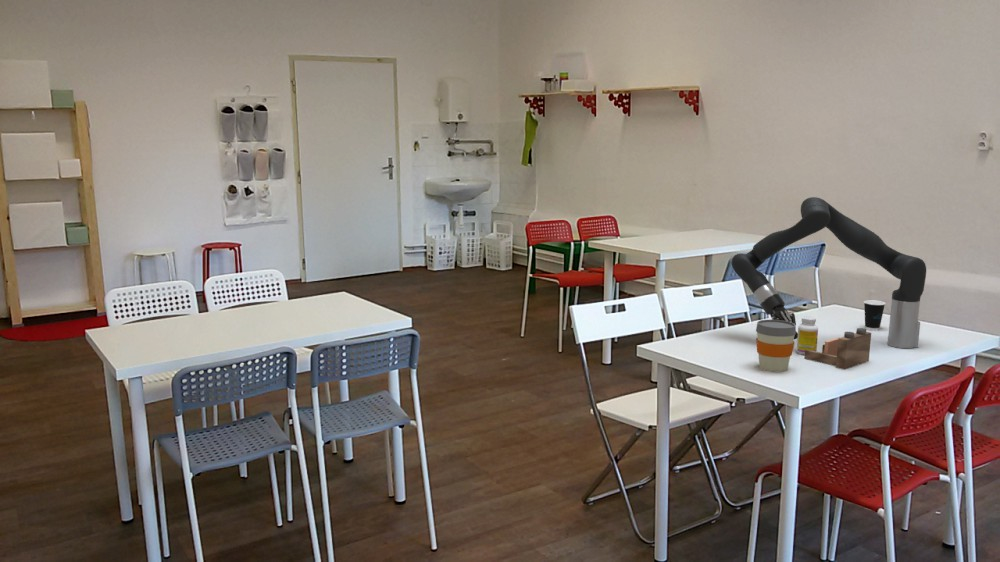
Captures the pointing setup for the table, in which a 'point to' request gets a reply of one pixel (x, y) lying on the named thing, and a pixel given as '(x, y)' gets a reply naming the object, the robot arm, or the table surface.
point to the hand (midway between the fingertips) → (796, 338)
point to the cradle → (846, 350)
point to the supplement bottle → (807, 335)
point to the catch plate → (831, 347)
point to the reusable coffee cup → (775, 344)
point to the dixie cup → (873, 314)
